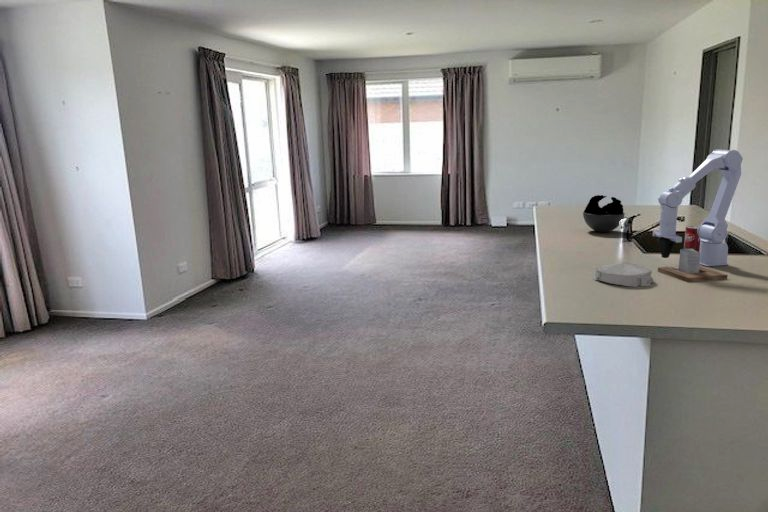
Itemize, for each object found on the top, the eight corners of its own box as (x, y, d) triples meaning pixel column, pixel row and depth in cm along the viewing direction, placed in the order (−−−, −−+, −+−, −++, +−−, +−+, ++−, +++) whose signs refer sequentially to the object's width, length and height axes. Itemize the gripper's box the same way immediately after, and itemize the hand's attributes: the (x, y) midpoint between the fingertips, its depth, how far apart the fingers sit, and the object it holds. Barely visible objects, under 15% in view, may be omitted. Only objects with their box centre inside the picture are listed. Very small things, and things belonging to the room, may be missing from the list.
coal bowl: (578, 228, 310) (580, 193, 306) (617, 228, 307) (620, 193, 303) (586, 235, 291) (588, 197, 286) (627, 235, 288) (630, 197, 284)
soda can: (701, 254, 244) (703, 225, 242) (704, 257, 238) (707, 228, 235) (681, 253, 247) (684, 225, 244) (684, 256, 240) (687, 228, 237)
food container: (617, 290, 195) (618, 271, 193) (582, 275, 214) (583, 257, 212) (666, 286, 200) (668, 267, 199) (628, 271, 219) (630, 254, 217)
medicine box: (698, 276, 209) (701, 253, 207) (685, 276, 210) (688, 252, 208) (690, 271, 217) (692, 248, 215) (678, 271, 217) (680, 248, 215)
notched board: (695, 268, 220) (695, 264, 220) (727, 278, 205) (727, 274, 205) (657, 271, 217) (657, 267, 217) (687, 282, 202) (687, 277, 202)
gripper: (646, 220, 228) (644, 254, 231) (671, 226, 214) (668, 262, 217) (662, 219, 229) (660, 253, 232) (688, 225, 215) (685, 260, 218)
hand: (665, 257), depth 225 cm, fingers closed
